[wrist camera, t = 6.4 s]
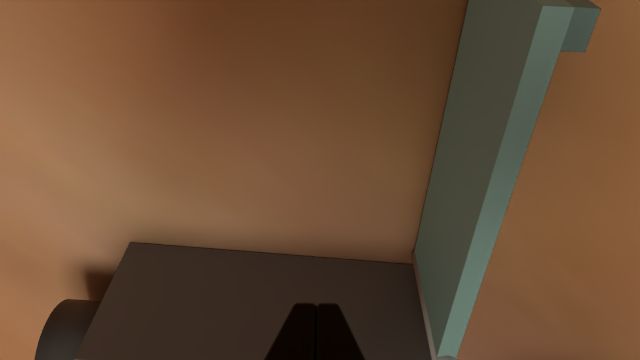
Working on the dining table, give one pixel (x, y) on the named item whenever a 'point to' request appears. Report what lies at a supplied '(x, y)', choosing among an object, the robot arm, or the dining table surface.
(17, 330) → the dining table surface
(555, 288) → the dining table surface
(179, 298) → the large grey box
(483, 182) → the grey-green bar
